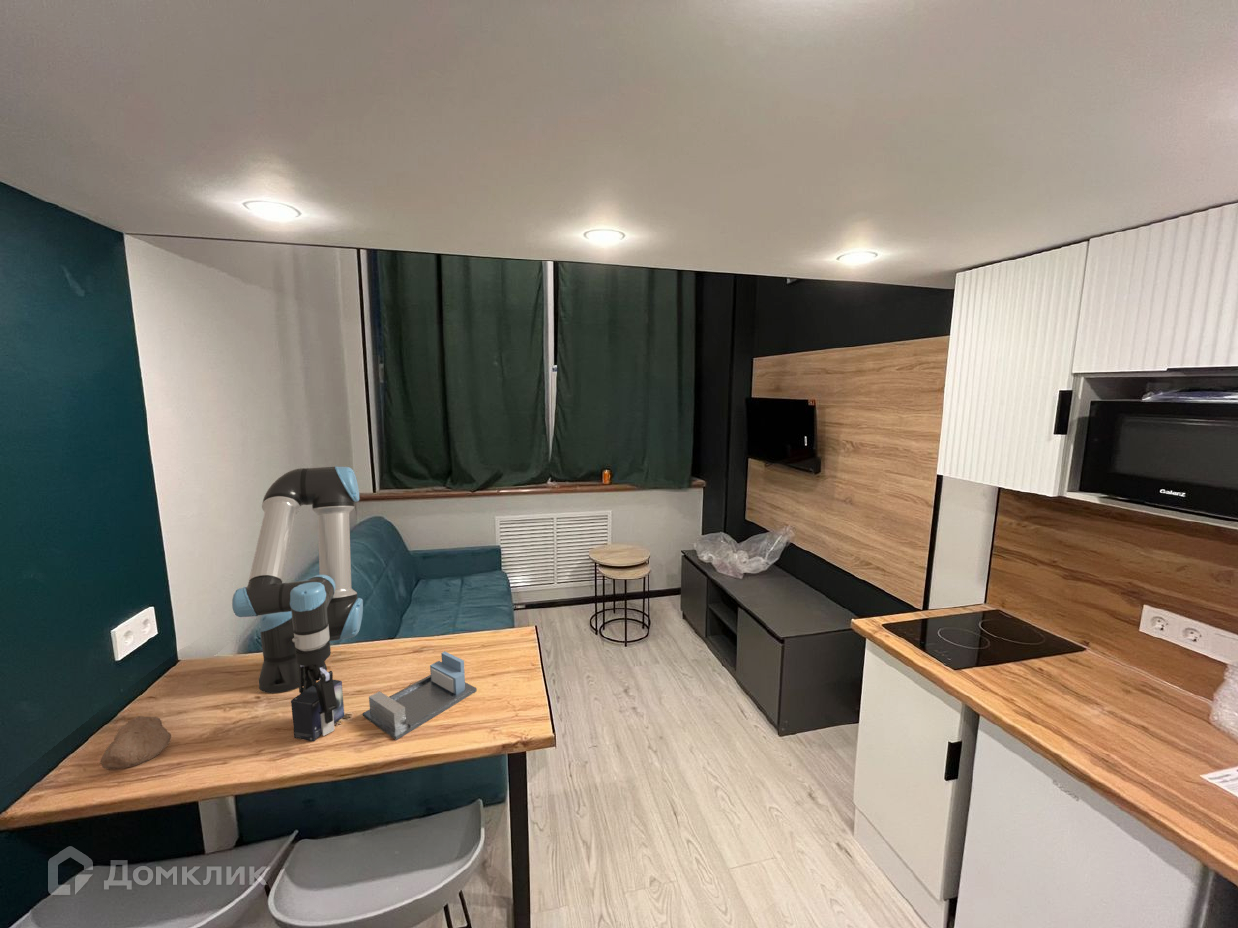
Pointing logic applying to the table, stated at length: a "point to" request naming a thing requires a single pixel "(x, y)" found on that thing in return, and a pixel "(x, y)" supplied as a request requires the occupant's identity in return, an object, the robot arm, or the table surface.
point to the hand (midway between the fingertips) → (320, 725)
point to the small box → (313, 712)
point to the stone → (136, 743)
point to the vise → (411, 706)
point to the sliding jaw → (449, 673)
